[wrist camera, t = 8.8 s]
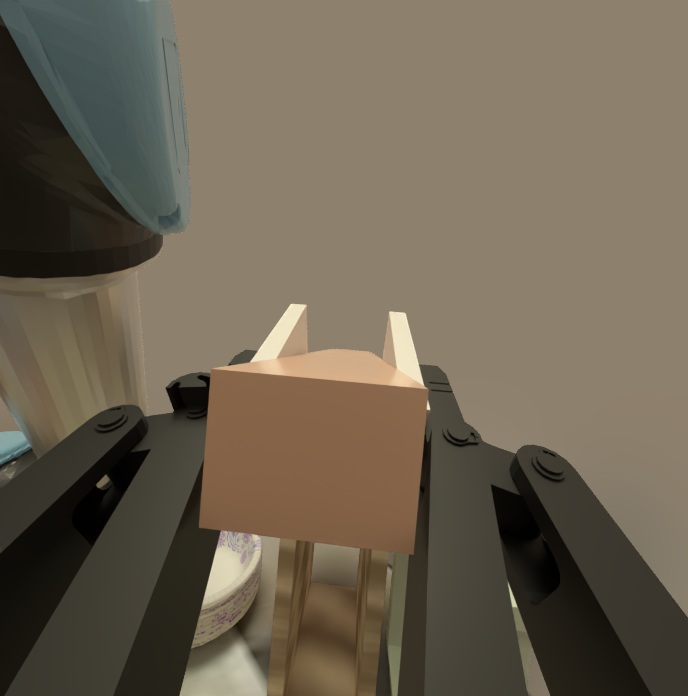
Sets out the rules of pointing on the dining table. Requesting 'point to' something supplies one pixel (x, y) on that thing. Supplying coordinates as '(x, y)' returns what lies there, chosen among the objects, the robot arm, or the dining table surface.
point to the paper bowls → (229, 585)
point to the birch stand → (325, 627)
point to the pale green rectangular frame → (397, 619)
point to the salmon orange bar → (315, 450)
